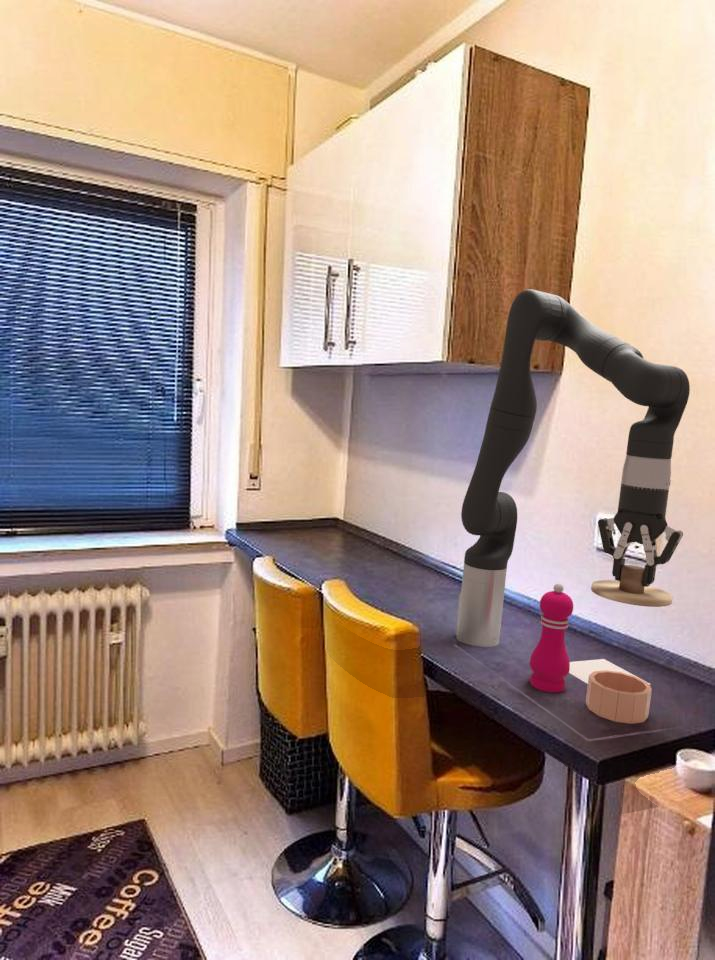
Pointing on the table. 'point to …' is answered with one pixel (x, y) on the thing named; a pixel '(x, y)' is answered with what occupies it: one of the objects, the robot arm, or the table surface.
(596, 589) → the lid
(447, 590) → the table surface
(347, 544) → the table surface
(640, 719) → the bowl
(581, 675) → the mat
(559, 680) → the pepper mill
